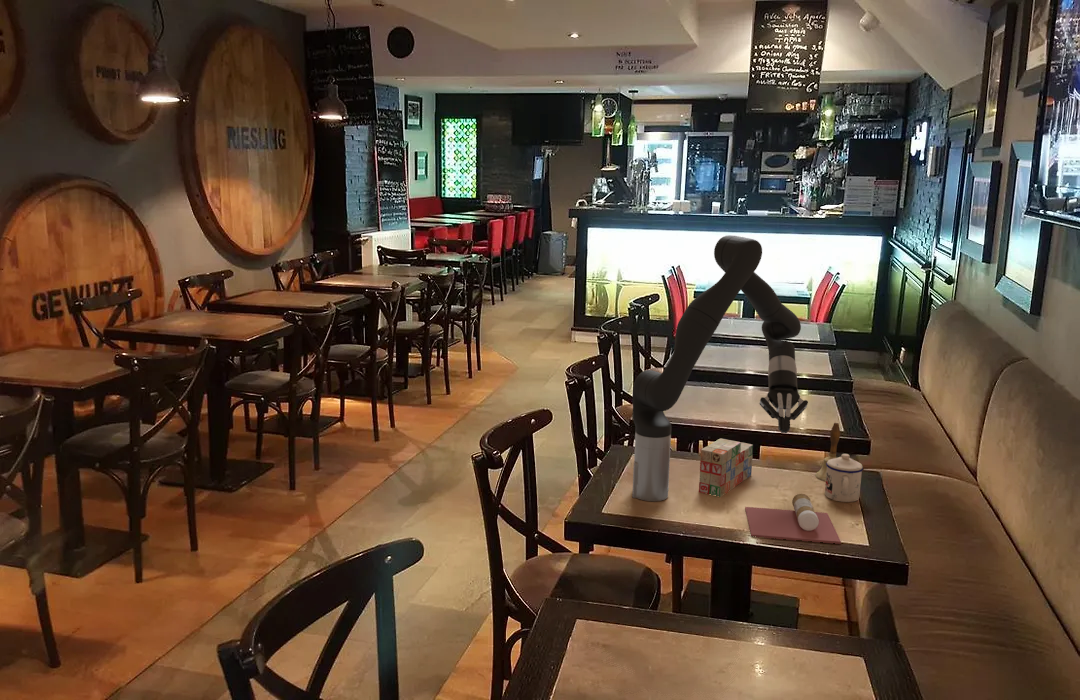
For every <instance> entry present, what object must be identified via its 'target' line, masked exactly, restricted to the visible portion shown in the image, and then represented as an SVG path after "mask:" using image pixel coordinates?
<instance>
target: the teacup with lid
mask: <svg viewBox="0 0 1080 700" xmlns="http://www.w3.org/2000/svg"><path fill="white" fill-rule="evenodd" d="M826 465H827V473H826V481H825V484H824V495H825V497H827V498H828V499H830V500H832V501H837V502H841V503H854V502H856V501H858V500H860V492H861V485H862V484H861V482H862V474H863V473H862V472H863V470H864V467H863V465H862V463H860V462H859V461H857V460H854V458H851V457H850V454H848V453H842V454H841V456H839V457H837V458H834V459H830V460H828V461H827V463H826Z"/></svg>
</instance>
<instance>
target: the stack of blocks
mask: <svg viewBox="0 0 1080 700" xmlns="http://www.w3.org/2000/svg"><path fill="white" fill-rule="evenodd" d="M753 449H754V444H751V443H746V442H740V441H736V440H731V439H726V438H719V439H717V440H716V441H713V442H712V443H710V444H708V445H707V446H705V447H703V448H701V449H700V462H699V482H698V493H701V492H702V493H701V494H705V493H707V494H706V495H709V494H711V495H710V496H713V495H716V496H715V497H717V496H719V497H718V498H721V497H723V496H724V495H726V494H727V493H729V492H730V491H731V489H732V490H733V489H734V488H735V487H737V486H738V485H739V484H741V483H742V482H743V481H745V480H747V479H748V478H749V477H751V476H752V466H753V457H754V456H753ZM740 482H741V483H740ZM729 490H730V491H729ZM728 491H729V492H728ZM725 493H726V494H725ZM723 494H724V495H723Z"/></svg>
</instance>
